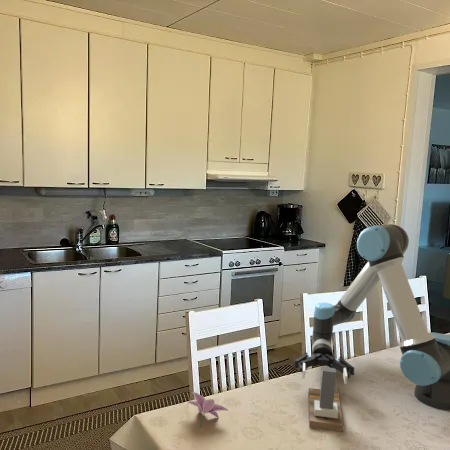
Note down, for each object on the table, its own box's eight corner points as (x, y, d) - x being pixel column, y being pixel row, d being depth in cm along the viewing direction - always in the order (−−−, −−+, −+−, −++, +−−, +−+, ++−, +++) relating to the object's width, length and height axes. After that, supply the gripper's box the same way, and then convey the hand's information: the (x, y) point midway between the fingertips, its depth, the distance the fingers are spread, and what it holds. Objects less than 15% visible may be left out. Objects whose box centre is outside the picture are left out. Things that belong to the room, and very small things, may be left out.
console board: (308, 393, 163) (308, 387, 162) (337, 396, 161) (337, 391, 161) (309, 426, 141) (309, 420, 141) (342, 431, 140) (343, 425, 139)
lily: (230, 431, 138) (234, 397, 142) (202, 428, 131) (206, 392, 135) (203, 427, 146) (207, 395, 150) (175, 424, 139) (180, 390, 143)
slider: (314, 405, 149) (317, 364, 148) (336, 408, 148) (339, 366, 147) (314, 415, 144) (317, 372, 142) (337, 418, 142) (341, 375, 141)
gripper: (356, 366, 171) (363, 393, 150) (288, 358, 175) (285, 383, 155) (357, 346, 170) (365, 371, 150) (289, 339, 174) (287, 361, 154)
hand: (324, 377), depth 152 cm, fingers open, 13 cm apart
